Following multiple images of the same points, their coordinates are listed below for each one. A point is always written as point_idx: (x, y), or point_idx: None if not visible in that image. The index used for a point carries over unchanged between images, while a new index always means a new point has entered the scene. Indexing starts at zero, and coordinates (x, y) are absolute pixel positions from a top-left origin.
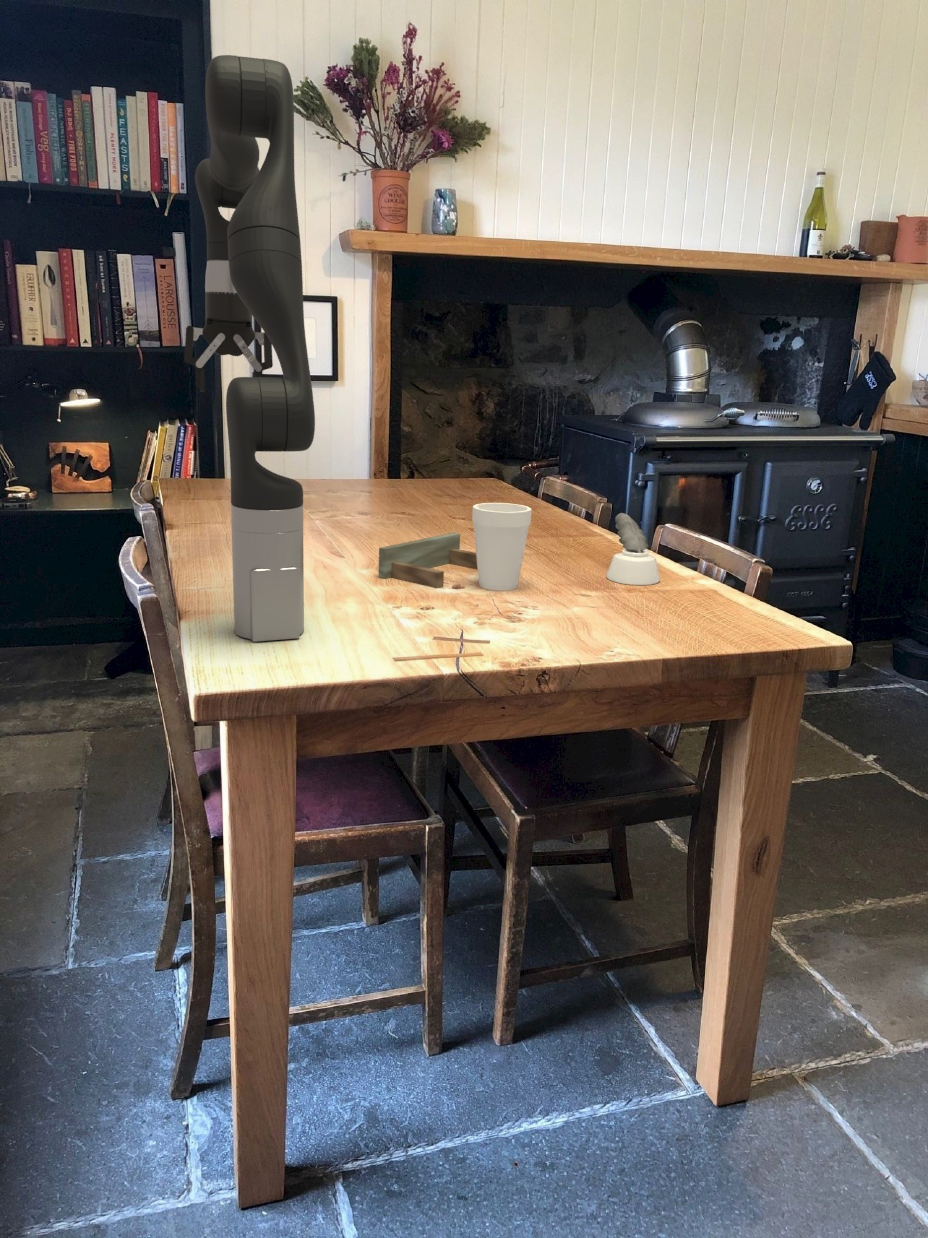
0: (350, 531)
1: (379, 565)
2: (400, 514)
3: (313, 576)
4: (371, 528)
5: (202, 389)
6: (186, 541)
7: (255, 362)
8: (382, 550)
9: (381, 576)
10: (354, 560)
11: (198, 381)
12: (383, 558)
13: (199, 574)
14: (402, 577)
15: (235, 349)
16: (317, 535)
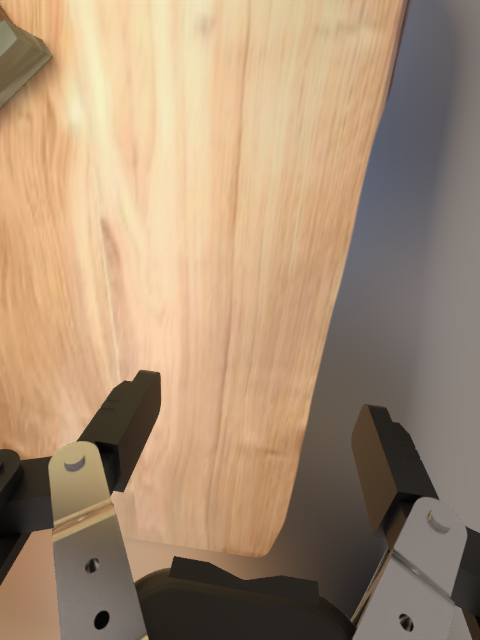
0: (85, 378)
1: (38, 47)
2: (20, 453)
3: (158, 89)
4: (57, 389)
5: (376, 406)
6: (303, 363)
7: (72, 490)
8: (13, 29)
9: (46, 48)
10: (87, 198)
11: (402, 443)
12: (21, 31)
13: (332, 146)
14: (9, 21)
15: (185, 618)
16: (130, 364)
